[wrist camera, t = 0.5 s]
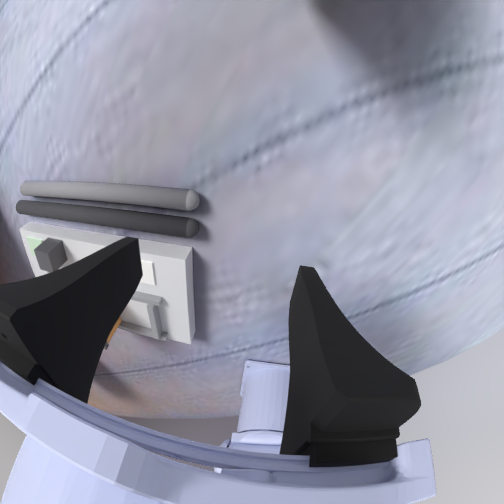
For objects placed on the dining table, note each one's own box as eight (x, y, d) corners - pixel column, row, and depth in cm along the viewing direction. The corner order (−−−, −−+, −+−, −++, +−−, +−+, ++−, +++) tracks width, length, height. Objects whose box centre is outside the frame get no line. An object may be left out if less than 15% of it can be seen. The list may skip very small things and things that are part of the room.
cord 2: (201, 233, 22) (195, 243, 21) (23, 209, 23) (15, 215, 22) (201, 215, 21) (195, 224, 20) (21, 197, 22) (12, 203, 21)
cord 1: (201, 207, 21) (195, 215, 20) (28, 191, 22) (19, 197, 21) (202, 188, 20) (196, 195, 19) (26, 178, 21) (16, 184, 20)
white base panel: (195, 330, 29) (184, 362, 25) (52, 290, 30) (35, 311, 26) (192, 247, 23) (174, 278, 19) (29, 221, 24) (6, 239, 20)
